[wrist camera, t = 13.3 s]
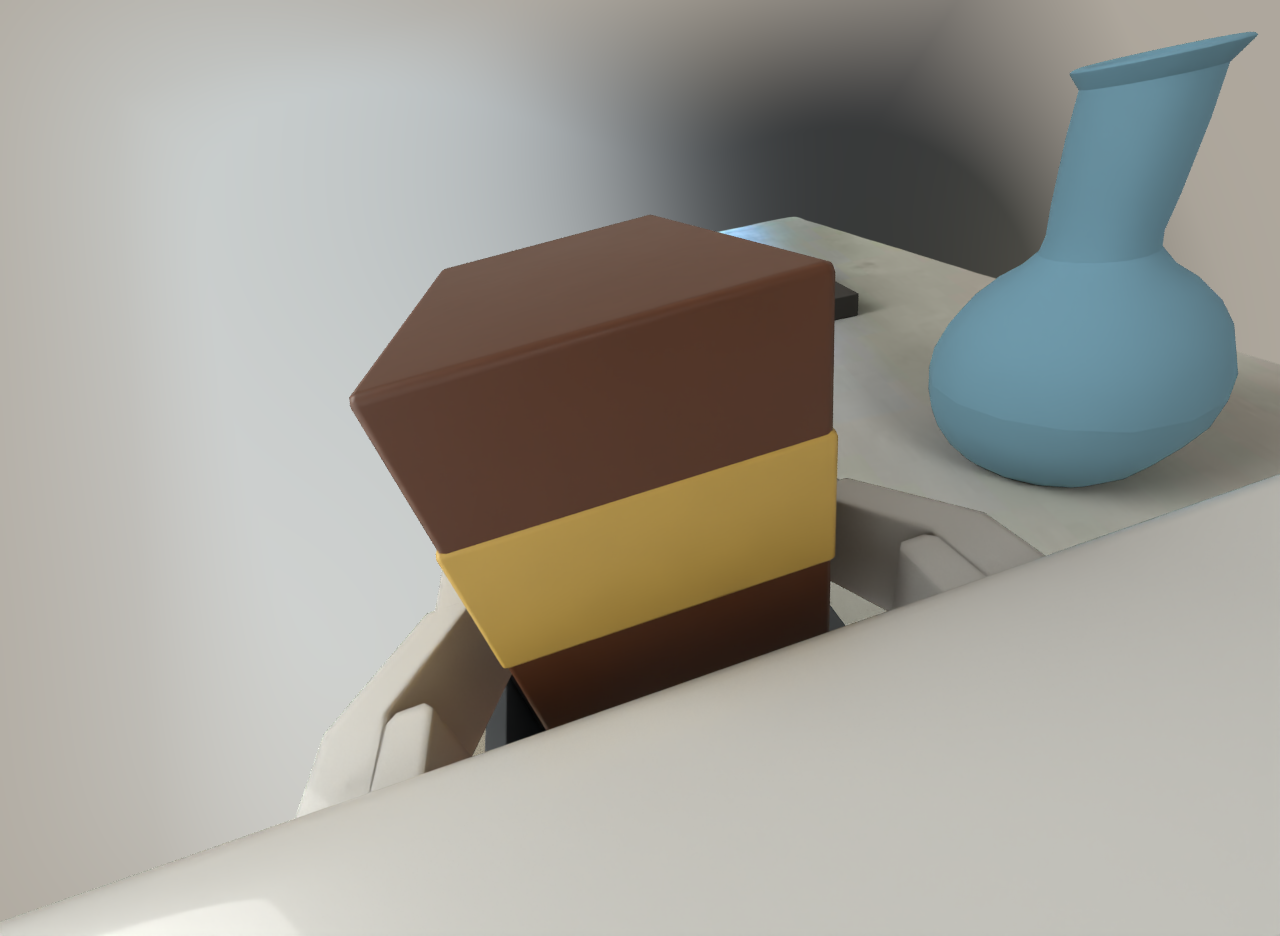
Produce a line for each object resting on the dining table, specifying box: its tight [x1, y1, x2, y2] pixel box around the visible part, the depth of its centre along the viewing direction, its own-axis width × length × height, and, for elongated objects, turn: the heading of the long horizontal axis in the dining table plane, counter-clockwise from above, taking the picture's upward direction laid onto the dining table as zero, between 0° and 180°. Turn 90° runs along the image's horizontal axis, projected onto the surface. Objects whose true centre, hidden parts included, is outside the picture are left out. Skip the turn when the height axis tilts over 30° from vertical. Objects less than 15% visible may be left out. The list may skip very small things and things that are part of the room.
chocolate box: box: [349, 215, 838, 731], centre depth 9 cm, size 4×6×11 cm
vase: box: [929, 32, 1258, 488], centre depth 32 cm, size 17×16×25 cm
